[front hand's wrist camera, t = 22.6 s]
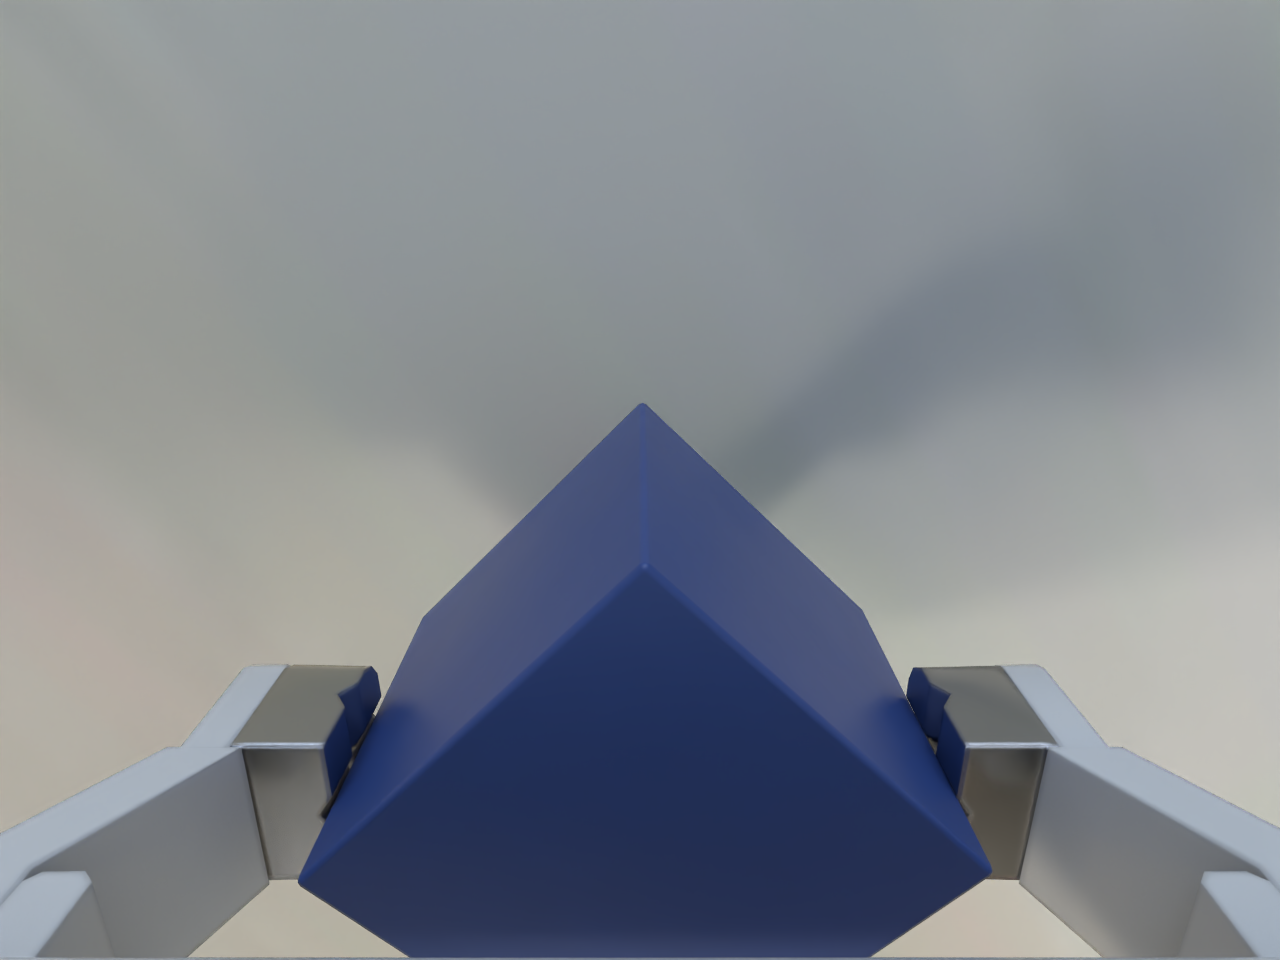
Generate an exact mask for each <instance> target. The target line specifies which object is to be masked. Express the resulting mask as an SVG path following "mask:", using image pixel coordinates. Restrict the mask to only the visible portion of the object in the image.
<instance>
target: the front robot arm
mask: <svg viewBox="0 0 1280 960" xmlns="http://www.w3.org/2000/svg"><path fill="white" fill-rule="evenodd" d="M906 697H907V699H908V701H909V703H910V705H911V707H912V709H913V711H914V713H915V716H916V718H917V720H918V722H919V724H920V726H921V728H922V730H923V732H924V734H925V736H926V738H927V740H928V741H929V743H930V745H931V747H932V749H933V751H934V753H935V755H936V757H937V759H938V761H939V763H940V765H941V767H942V769H943V771H944V773H945V775H946V777H947V779H948V781H949V783H950V785H951V787H952V789H953V791H954V793H955V795H956V797H957V799H958V801H959V803H960V805H961V807H962V809H963V811H964V813H965V815H966V817H967V819H968V821H969V823H970V825H971V827H972V829H973V831H974V833H975V835H976V837H977V839H978V841H979V843H980V845H981V847H982V849H983V851H984V853H985V854H986V856H987V858H988V860H989V862H990V864H991V867H992V874H991V875H990V876H989V877H988V878H986V879H1000V880H1020V881H1019V884H1020V885H1021V886H1022V887H1023V888H1025V889H1026V890H1027V891H1028V892H1029V893H1030V894H1031V895H1033V896H1034V897H1035V898H1036V899H1037V900H1038V901H1039V902H1040V903H1042V904H1043V905H1044V906H1045V907H1046V908H1047V909H1048V910H1050V911H1051V912H1052V913H1053V914H1054V915H1055V916H1056V917H1057V918H1059V919H1060V920H1061V921H1062V922H1063V923H1064V924H1065V925H1067V926H1068V927H1069V928H1070V929H1071V930H1072V931H1073V932H1075V933H1076V934H1077V935H1078V936H1079V937H1080V938H1081V939H1082V940H1084V941H1085V942H1086V943H1087V944H1088V945H1089V946H1090V947H1092V948H1093V949H1094V950H1095V951H1096V952H1097V953H1098V954H1100V955H1101V956H1102V957H1103V958H862V957H861V958H860V957H727V958H187V957H188V956H189V955H190V954H191V953H192V952H193V951H195V950H196V949H197V948H198V947H199V946H200V945H201V944H202V943H204V942H205V941H206V940H207V939H208V938H209V937H210V936H211V935H213V934H214V933H215V932H216V931H217V930H218V929H219V928H221V927H222V926H223V925H224V924H225V923H226V922H227V921H228V920H230V919H231V918H232V917H233V916H234V915H235V914H236V913H237V912H239V911H240V910H241V909H242V908H243V907H244V906H245V905H246V904H248V903H249V902H250V901H251V900H252V899H253V898H254V897H255V896H257V895H258V894H259V893H260V892H261V891H262V890H263V889H264V888H266V887H267V886H268V885H269V880H288V879H298V878H299V875H300V873H301V871H302V869H303V867H304V865H305V863H306V861H307V858H308V856H309V854H310V852H311V850H312V848H313V846H314V844H315V842H316V840H317V838H318V835H319V833H320V831H321V829H322V827H323V825H324V823H325V821H326V819H327V817H328V815H329V813H330V810H331V808H332V806H333V804H334V802H335V800H336V798H337V796H338V794H339V792H340V790H341V788H342V785H343V783H344V781H345V779H346V777H347V775H348V773H349V771H350V769H351V767H352V765H353V762H354V760H355V758H356V756H357V754H358V752H359V750H360V748H361V746H362V744H363V742H364V740H365V737H366V735H367V733H368V731H369V729H370V727H371V725H372V723H373V721H374V719H375V717H376V716H375V715H374V714H373V712H374V710H375V708H376V706H377V704H378V702H379V700H380V698H381V692H380V686H379V680H378V674H377V672H376V671H375V670H374V669H373V667H372V666H333V665H292V666H291V665H288V664H270V665H251V666H248V667H244V668H243V669H242V670H241V672H240V673H239V674H238V675H237V677H236V678H235V679H234V680H233V682H232V683H231V684H230V685H229V687H228V688H227V689H226V690H225V692H224V693H223V694H222V695H221V697H220V698H219V699H218V700H217V702H216V703H215V704H214V705H213V707H212V708H211V709H210V710H209V712H208V713H207V714H206V715H205V717H204V718H203V719H202V720H201V722H200V723H199V724H198V725H197V727H196V728H195V729H194V730H193V732H192V733H191V734H190V735H189V737H188V738H187V739H186V740H185V742H184V743H183V744H182V745H181V747H166V748H164V749H162V750H161V751H159V752H157V753H155V754H153V755H151V756H149V757H147V758H145V759H143V760H141V761H139V762H137V763H135V764H134V765H132V766H130V767H128V768H126V769H124V770H122V771H120V772H118V773H116V774H114V775H112V776H110V777H108V778H107V779H105V780H103V781H101V782H99V783H97V784H95V785H93V786H91V787H89V788H87V789H85V790H83V791H81V792H80V793H78V794H76V795H74V796H72V797H70V798H68V799H66V800H64V801H62V802H60V803H58V804H56V805H54V806H52V807H51V808H49V809H47V810H45V811H43V812H41V813H39V814H37V815H35V816H33V817H31V818H29V819H27V820H25V821H24V822H22V823H20V824H18V825H16V826H14V827H12V828H10V829H8V830H6V831H4V832H2V833H0V960H1280V828H1278V827H1276V826H1274V825H1272V824H1270V823H1269V822H1267V821H1265V820H1263V819H1261V818H1259V817H1257V816H1255V815H1253V814H1251V813H1249V812H1247V811H1245V810H1243V809H1241V808H1239V807H1237V806H1236V805H1234V804H1232V803H1230V802H1228V801H1226V800H1224V799H1222V798H1220V797H1218V796H1216V795H1214V794H1212V793H1210V792H1208V791H1206V790H1204V789H1203V788H1201V787H1199V786H1197V785H1195V784H1193V783H1191V782H1189V781H1187V780H1185V779H1183V778H1181V777H1179V776H1177V775H1175V774H1173V773H1171V772H1170V771H1168V770H1166V769H1164V768H1162V767H1160V766H1158V765H1156V764H1154V763H1152V762H1150V761H1148V760H1146V759H1144V758H1142V757H1140V756H1138V755H1137V754H1135V753H1133V752H1131V751H1129V750H1127V749H1125V748H1123V747H1109V746H1108V745H1107V744H1106V743H1105V742H1104V740H1103V739H1102V738H1101V737H1100V735H1099V734H1098V733H1097V732H1096V731H1095V729H1094V728H1093V727H1092V726H1091V724H1090V723H1089V722H1088V721H1087V720H1086V718H1085V717H1084V716H1083V715H1082V713H1081V712H1080V711H1079V710H1078V709H1077V707H1076V706H1075V705H1074V704H1073V702H1072V701H1071V700H1070V699H1069V698H1068V696H1067V695H1066V694H1065V693H1064V691H1063V690H1062V689H1061V688H1060V687H1059V685H1058V684H1057V683H1056V682H1055V680H1054V679H1053V678H1052V677H1051V676H1050V674H1049V673H1048V672H1047V671H1046V669H1045V668H1043V667H1041V666H1039V665H1037V664H1018V665H995V666H965V667H916V668H913V670H912V672H911V675H910V677H909V681H908V688H907V694H906Z"/></svg>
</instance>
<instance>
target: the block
mask: <svg viewBox="0 0 1280 960" xmlns="http://www.w3.org/2000/svg"><path fill="white" fill-rule="evenodd" d="M991 874H992V867H991V864H990V862H989V860H988V858H987V856H986V854H985V853H984V851H983V849H982V847H981V845H980V843H979V841H978V839H977V837H976V835H975V833H974V831H973V829H972V827H971V825H970V823H969V821H968V819H967V817H966V815H965V813H964V811H963V809H962V807H961V805H960V803H959V801H958V799H957V797H956V795H955V793H954V791H953V789H952V787H951V785H950V783H949V781H948V779H947V777H946V775H945V773H944V771H943V769H942V767H941V765H940V763H939V761H938V759H937V757H936V755H935V753H934V751H933V749H932V747H931V745H930V743H929V741H928V740H927V738H926V736H925V734H924V732H923V730H922V728H921V726H920V724H919V722H918V720H917V718H916V716H915V714H914V712H913V710H912V708H911V706H910V704H909V702H908V700H907V698H906V696H905V694H904V692H903V690H902V688H901V686H900V684H899V682H898V680H897V678H896V676H895V674H894V672H893V670H892V668H891V666H890V664H889V662H888V660H887V658H886V656H885V654H884V652H883V650H882V648H881V646H880V644H879V642H878V640H877V638H876V636H875V634H874V632H873V630H872V629H871V627H870V625H869V623H868V621H867V619H866V617H865V615H864V613H863V611H862V609H861V608H860V607H858V606H857V605H856V604H855V603H854V602H853V601H852V600H851V599H850V598H849V597H848V596H847V595H846V594H845V593H844V592H843V591H842V590H841V589H840V588H838V587H837V586H836V585H835V584H834V583H833V582H832V581H831V580H830V579H829V578H828V577H827V576H826V575H825V574H824V573H823V572H822V571H821V570H820V569H819V568H817V567H816V566H815V565H814V564H813V563H812V562H811V561H810V560H809V559H808V558H807V557H806V556H805V555H804V554H803V553H802V552H801V551H800V550H799V549H798V548H796V547H795V546H794V545H793V544H792V543H791V542H790V541H789V540H788V539H787V538H786V537H785V536H784V535H783V534H782V533H781V532H780V531H779V530H778V529H776V528H775V527H774V526H773V525H772V524H771V523H770V522H769V521H768V520H767V519H766V518H765V517H764V516H763V515H762V514H761V513H760V512H759V511H758V510H757V509H755V508H754V507H753V506H752V505H751V504H750V503H749V502H748V501H747V500H746V499H745V498H744V497H743V496H742V495H741V494H740V493H739V492H738V491H737V490H736V489H734V488H733V487H732V486H731V485H730V484H729V483H728V482H727V481H726V480H725V479H724V478H723V477H722V476H721V475H720V474H719V473H718V472H717V471H716V470H714V469H713V468H712V467H711V466H710V465H709V464H708V463H707V462H706V461H705V460H704V459H703V458H702V457H701V456H700V455H699V454H698V453H697V452H696V451H695V450H693V449H692V448H691V447H690V446H689V445H688V444H687V443H686V442H685V441H684V440H683V439H682V438H681V437H680V436H679V435H678V434H677V433H676V432H675V431H674V430H672V429H671V428H670V427H669V426H668V425H667V424H666V423H665V422H664V421H663V420H662V419H661V418H660V417H659V416H658V415H657V414H656V413H655V412H654V411H652V410H651V409H650V408H649V407H648V406H647V405H646V404H644V403H641V404H639V405H638V406H637V407H636V408H635V409H634V410H633V411H632V412H631V413H630V414H629V415H628V416H627V417H626V418H625V419H624V420H623V421H622V422H621V423H620V424H618V425H617V426H616V427H615V428H614V429H613V430H612V431H611V432H610V433H609V434H608V435H607V436H606V437H605V438H604V439H603V440H602V441H601V442H600V443H599V444H598V445H597V446H596V447H595V448H594V449H593V450H592V451H591V452H590V453H589V454H588V455H587V456H586V457H585V458H584V459H583V460H582V461H581V462H580V463H579V464H578V465H577V466H576V467H575V468H574V469H573V470H572V471H571V472H570V473H569V474H568V475H567V476H566V477H565V478H564V479H563V480H562V481H561V482H560V483H559V484H558V485H557V486H556V487H555V488H554V489H553V490H552V491H551V492H550V493H549V494H548V495H547V496H546V497H545V498H544V499H542V500H541V501H540V502H539V503H538V504H537V505H536V506H535V507H534V508H533V509H532V510H531V511H530V512H529V513H528V514H527V515H526V516H525V517H524V518H523V519H522V520H521V521H520V522H519V523H518V524H517V525H516V526H515V527H514V528H513V529H512V530H511V531H510V532H509V533H508V534H507V535H506V536H505V537H504V538H503V539H502V540H501V541H500V542H499V543H498V544H497V545H496V546H495V547H494V548H493V549H492V550H491V551H490V552H489V553H488V554H487V555H486V556H485V557H484V558H483V559H482V560H481V561H480V562H479V563H478V564H477V565H476V566H475V567H474V568H473V569H472V570H471V571H470V572H469V573H468V574H466V575H465V576H464V577H463V578H462V579H461V580H460V581H459V582H458V583H457V584H456V585H455V586H454V587H453V588H452V589H451V590H450V591H449V592H448V593H447V594H446V595H445V596H444V597H443V598H442V599H441V600H440V601H439V602H438V603H437V604H436V605H435V606H434V607H433V608H432V609H431V610H430V611H429V612H428V613H427V614H426V615H425V616H424V617H423V619H422V621H421V623H420V625H419V627H418V629H417V631H416V633H415V635H414V637H413V639H412V642H411V644H410V646H409V648H408V650H407V652H406V654H405V656H404V658H403V660H402V662H401V664H400V667H399V669H398V671H397V673H396V675H395V677H394V679H393V681H392V683H391V685H390V687H389V690H388V692H387V694H386V696H385V698H384V700H383V702H382V704H381V706H380V708H379V710H378V712H377V715H376V717H375V719H374V721H373V723H372V725H371V727H370V729H369V731H368V733H367V735H366V737H365V740H364V742H363V744H362V746H361V748H360V750H359V752H358V754H357V756H356V758H355V760H354V762H353V765H352V767H351V769H350V771H349V773H348V775H347V777H346V779H345V781H344V783H343V785H342V788H341V790H340V792H339V794H338V796H337V798H336V800H335V802H334V804H333V806H332V808H331V810H330V813H329V815H328V817H327V819H326V821H325V823H324V825H323V827H322V829H321V831H320V833H319V835H318V838H317V840H316V842H315V844H314V846H313V848H312V850H311V852H310V854H309V856H308V858H307V861H306V863H305V865H304V867H303V869H302V871H301V873H300V875H299V878H298V883H299V885H300V886H301V887H302V888H304V889H305V890H307V891H309V892H310V893H312V894H313V895H315V896H316V897H318V898H319V899H321V900H322V901H324V902H325V903H327V904H328V905H330V906H332V907H333V908H335V909H336V910H338V911H339V912H341V913H342V914H344V915H345V916H347V917H348V918H350V919H351V920H353V921H355V922H356V923H358V924H359V925H361V926H362V927H364V928H365V929H367V930H368V931H370V932H371V933H373V934H374V935H376V936H378V937H379V938H381V939H382V940H384V941H385V942H387V943H388V944H390V945H391V946H393V947H394V948H396V949H397V950H399V951H401V952H402V953H404V954H405V955H407V956H408V957H410V958H727V957H860V958H861V957H862V958H870V957H871V956H873V955H874V954H876V953H877V952H878V951H880V950H881V949H883V948H884V947H886V946H887V945H889V944H890V943H892V942H893V941H895V940H896V939H898V938H899V937H901V936H902V935H904V934H905V933H907V932H908V931H909V930H911V929H912V928H914V927H915V926H917V925H918V924H920V923H921V922H923V921H924V920H926V919H927V918H929V917H930V916H932V915H933V914H935V913H936V912H938V911H939V910H940V909H942V908H943V907H945V906H946V905H948V904H949V903H951V902H952V901H954V900H955V899H957V898H958V897H960V896H961V895H963V894H964V893H966V892H967V891H969V890H970V889H971V888H973V887H974V886H976V885H977V884H979V883H980V882H982V881H983V880H985V879H986V878H988V877H989V876H990V875H991Z"/></svg>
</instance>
